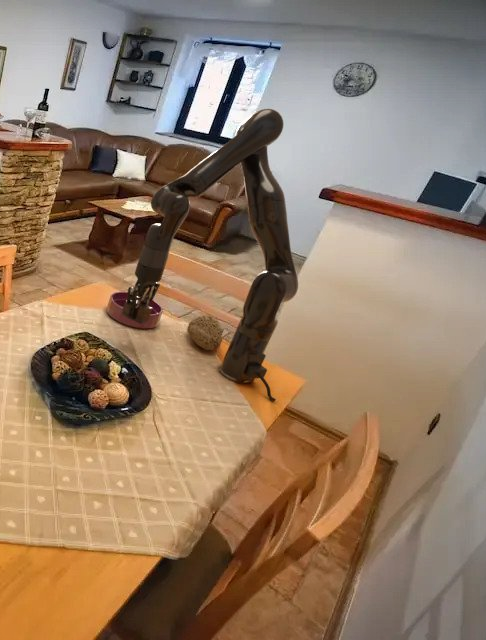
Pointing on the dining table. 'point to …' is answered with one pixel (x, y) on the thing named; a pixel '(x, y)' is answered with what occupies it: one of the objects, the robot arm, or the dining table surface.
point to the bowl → (115, 312)
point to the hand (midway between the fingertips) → (135, 316)
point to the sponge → (206, 332)
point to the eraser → (139, 312)
